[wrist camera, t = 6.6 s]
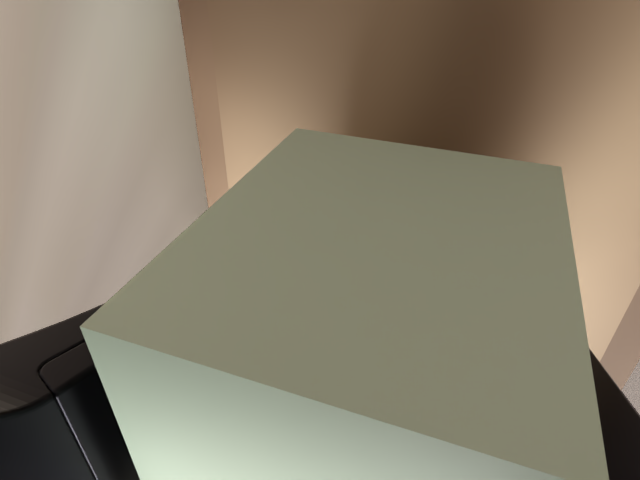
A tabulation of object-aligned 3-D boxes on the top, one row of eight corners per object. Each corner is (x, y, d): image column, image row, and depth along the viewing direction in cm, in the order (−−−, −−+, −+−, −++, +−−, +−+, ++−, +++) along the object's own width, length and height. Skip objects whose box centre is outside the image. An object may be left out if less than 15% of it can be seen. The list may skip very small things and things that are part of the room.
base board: (822, -74, 8) (897, -73, 6) (589, 378, 15) (597, 433, 13) (215, -82, 11) (164, -82, 10) (251, 292, 18) (224, 328, 17)
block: (561, 166, 8) (610, 493, 4) (496, 359, 11) (477, 682, 6) (296, 128, 10) (79, 326, 5) (300, 308, 12) (164, 542, 8)
